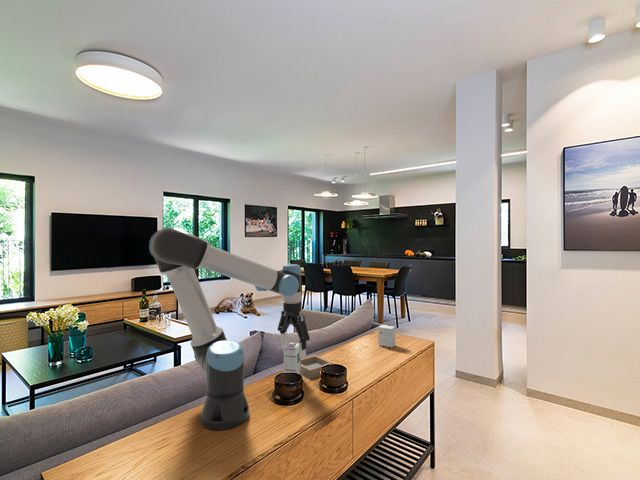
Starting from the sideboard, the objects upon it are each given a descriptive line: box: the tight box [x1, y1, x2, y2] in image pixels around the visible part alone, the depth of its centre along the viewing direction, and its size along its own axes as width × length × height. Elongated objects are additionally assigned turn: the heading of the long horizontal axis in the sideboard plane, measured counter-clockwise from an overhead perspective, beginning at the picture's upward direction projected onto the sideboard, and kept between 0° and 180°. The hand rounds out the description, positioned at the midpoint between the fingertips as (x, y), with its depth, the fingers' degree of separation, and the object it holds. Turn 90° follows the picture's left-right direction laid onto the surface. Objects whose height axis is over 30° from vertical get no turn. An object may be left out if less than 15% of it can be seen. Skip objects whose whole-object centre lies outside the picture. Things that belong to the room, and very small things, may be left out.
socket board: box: [300, 354, 334, 379], centre depth 145 cm, size 14×14×3 cm
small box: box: [377, 324, 396, 348], centre depth 177 cm, size 8×6×10 cm
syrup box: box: [283, 342, 302, 375], centre depth 135 cm, size 6×6×14 cm
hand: (293, 352), depth 135 cm, fingers open, 13 cm apart
